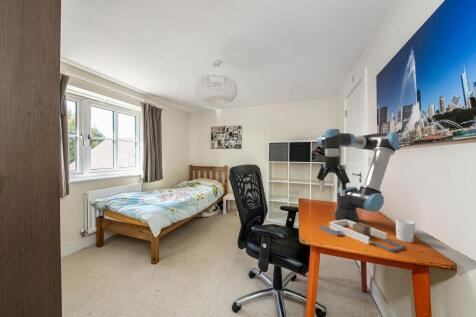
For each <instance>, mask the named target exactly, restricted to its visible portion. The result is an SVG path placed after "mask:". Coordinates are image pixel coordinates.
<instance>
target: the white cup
mask: <svg viewBox="0 0 476 317" xmlns="http://www.w3.org/2000/svg"><path fill="white" fill-rule="evenodd" d="M415 228H416V222H414V221H412V220H408V219H404V218H396V219H395V233H396V234H395V235H396V236H395V237H396V239H397V240H398V241H401V242H405V243H413V242H414V238H415V237H414V236H415V231H416V230H415Z"/></svg>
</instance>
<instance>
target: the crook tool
mask: <svg viewBox="0 0 476 317" xmlns="http://www.w3.org/2000/svg"><path fill="white" fill-rule="evenodd" d="M318 229H319V230H321V231H323V232H326V233H328V234H330V235H331V236H332V235H333V236H335V237H341V236H343V235H344V234H343V231H340V230H339V231H335V230H333V229H330V228H329V227H327V226H324V225H323V224H321V225H320V224H319V225H318Z"/></svg>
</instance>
